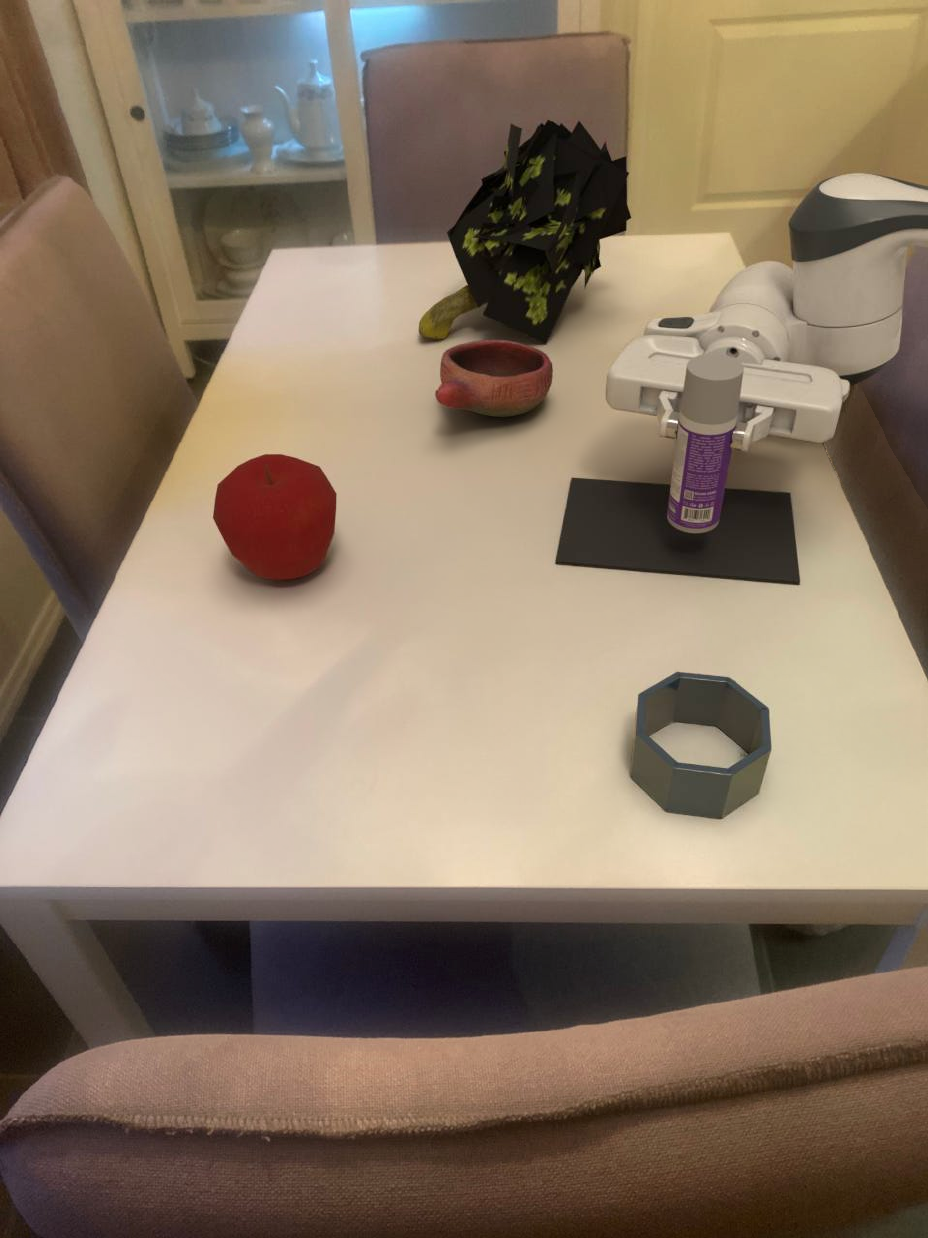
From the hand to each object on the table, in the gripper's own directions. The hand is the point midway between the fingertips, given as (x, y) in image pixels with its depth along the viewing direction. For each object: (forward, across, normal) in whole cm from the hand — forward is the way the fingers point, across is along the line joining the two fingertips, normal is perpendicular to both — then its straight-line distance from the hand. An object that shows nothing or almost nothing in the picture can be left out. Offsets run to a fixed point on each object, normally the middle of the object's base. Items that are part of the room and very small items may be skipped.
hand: (703, 436), depth 77 cm
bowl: (-19, +26, -14) cm, 35 cm away
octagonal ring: (+24, -6, -13) cm, 28 cm away
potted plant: (-44, +34, -14) cm, 57 cm away
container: (-1, 0, -9) cm, 9 cm away
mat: (-4, +2, -13) cm, 14 cm away
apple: (+14, +35, -13) cm, 40 cm away
